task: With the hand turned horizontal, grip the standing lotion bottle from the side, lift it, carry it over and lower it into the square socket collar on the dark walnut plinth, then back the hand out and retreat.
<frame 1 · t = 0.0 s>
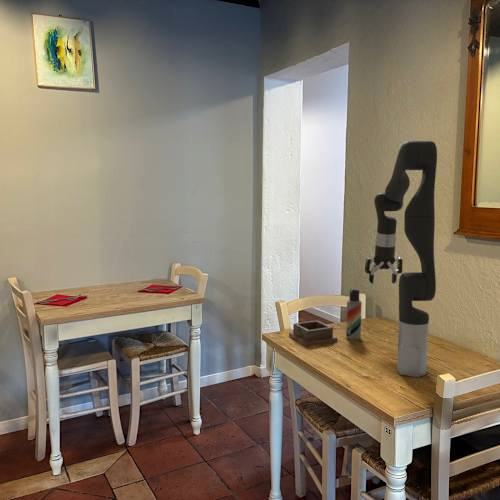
hand: (382, 283, 193), 22 cm above the table, tool pointing down, fingers open, 8 cm apart
bottle holder: (312, 338, 194), on the table
lotion bottle: (353, 338, 196), on the table
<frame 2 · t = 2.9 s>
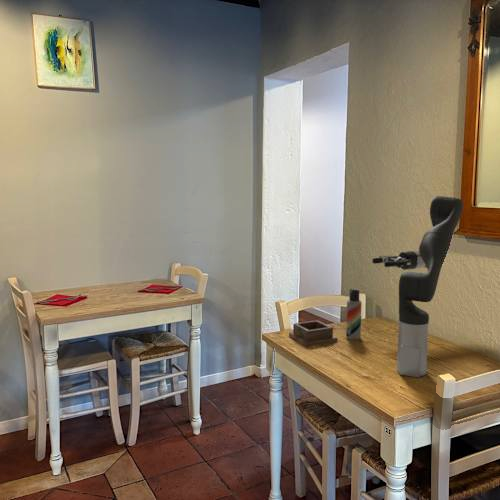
hand: (378, 262, 195), 30 cm above the table, tool horizontal, fingers open, 8 cm apart
nothing on the table moved.
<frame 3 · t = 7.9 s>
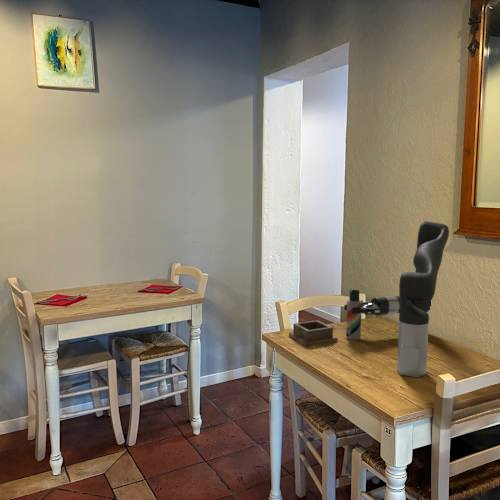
hand: (348, 309, 193), 12 cm above the table, tool horizontal, fingers closed on lotion bottle, 5 cm apart
lotion bottle: (353, 338, 196), on the table, touching gripper
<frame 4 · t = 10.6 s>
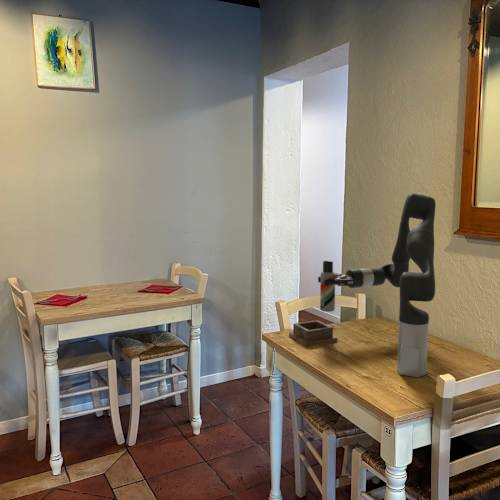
hand: (321, 280, 191), 24 cm above the table, tool horizontal, fingers closed on lotion bottle, 5 cm apart
lotion bottle: (327, 310, 194), point 11 cm above the table, touching gripper
when the fingers open (15 cm above the table, at t = 13.7 s): lotion bottle drops 1 cm, resting on bottle holder.
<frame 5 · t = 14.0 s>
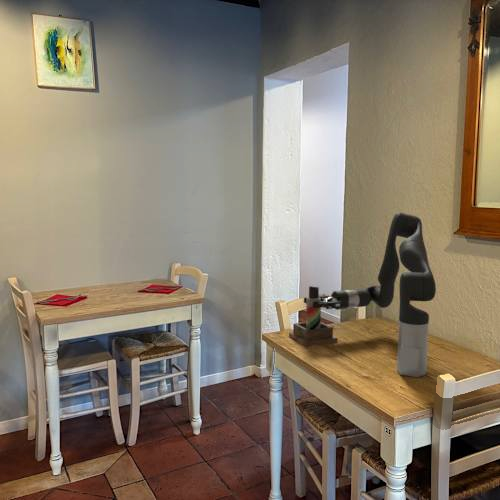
hand: (308, 302, 192), 15 cm above the table, tool horizontal, fingers open, 7 cm apart
lotion bottle: (313, 335, 194), point 1 cm above the table, touching bottle holder
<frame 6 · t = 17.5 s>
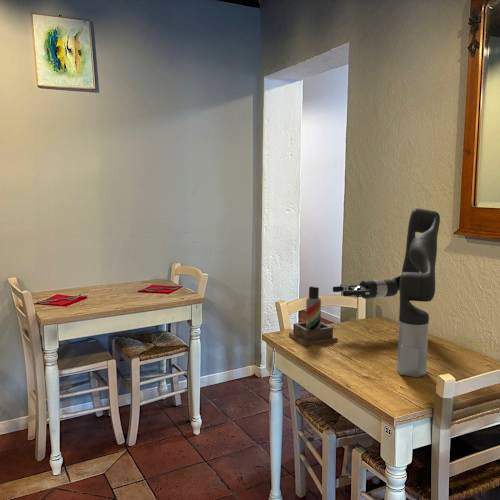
hand: (338, 291, 195), 19 cm above the table, tool horizontal, fingers open, 8 cm apart
nothing on the table moved.
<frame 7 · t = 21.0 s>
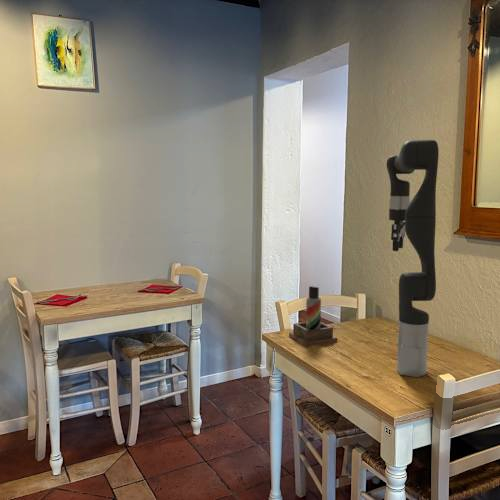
hand: (397, 249, 189), 36 cm above the table, tool pointing down, fingers open, 8 cm apart
nothing on the table moved.
at the end: lotion bottle 0.1 cm off-centre on the bottle holder, point 1.3 cm above the bottle holder's base; lotion bottle tilted 0°; the gripper is holding nothing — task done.
